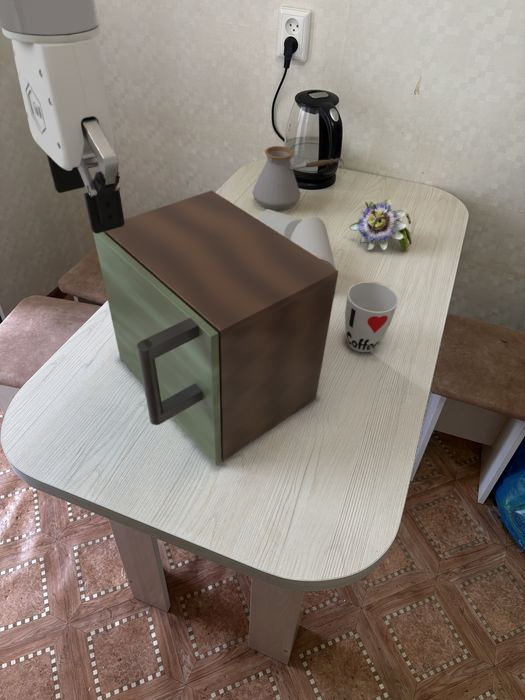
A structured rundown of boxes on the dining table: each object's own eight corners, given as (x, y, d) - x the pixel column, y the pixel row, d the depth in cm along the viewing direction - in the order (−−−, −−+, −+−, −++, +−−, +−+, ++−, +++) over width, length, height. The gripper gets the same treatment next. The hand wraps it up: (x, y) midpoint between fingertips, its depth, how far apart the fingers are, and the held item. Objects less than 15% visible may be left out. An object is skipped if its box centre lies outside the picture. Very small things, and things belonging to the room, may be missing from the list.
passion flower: (366, 270, 113) (341, 228, 107) (379, 239, 119) (355, 198, 113) (413, 259, 106) (389, 214, 100) (424, 227, 112) (402, 182, 106)
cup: (332, 350, 86) (341, 304, 79) (345, 322, 92) (354, 276, 85) (379, 364, 84) (392, 318, 77) (389, 334, 90) (402, 289, 83)
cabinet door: (173, 494, 65) (153, 365, 49) (81, 378, 79) (41, 247, 62) (221, 462, 69) (218, 332, 53) (125, 356, 83) (99, 228, 66)
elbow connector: (360, 254, 106) (275, 228, 112) (365, 214, 97) (273, 188, 103) (325, 314, 97) (236, 281, 103) (328, 276, 89) (230, 243, 95)
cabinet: (223, 461, 69) (220, 330, 53) (127, 356, 83) (101, 227, 66) (316, 399, 78) (338, 270, 61) (215, 314, 92) (211, 190, 75)
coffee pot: (243, 206, 121) (244, 144, 111) (267, 188, 128) (270, 128, 118) (323, 233, 114) (332, 169, 103) (343, 212, 121) (354, 150, 111)
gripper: (-31, -5, 43) (25, 183, 55) (37, 41, 34) (86, 258, 45) (56, -10, 47) (90, 169, 59) (140, 30, 37) (161, 235, 49)
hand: (89, 207), depth 52 cm, fingers open, 9 cm apart
